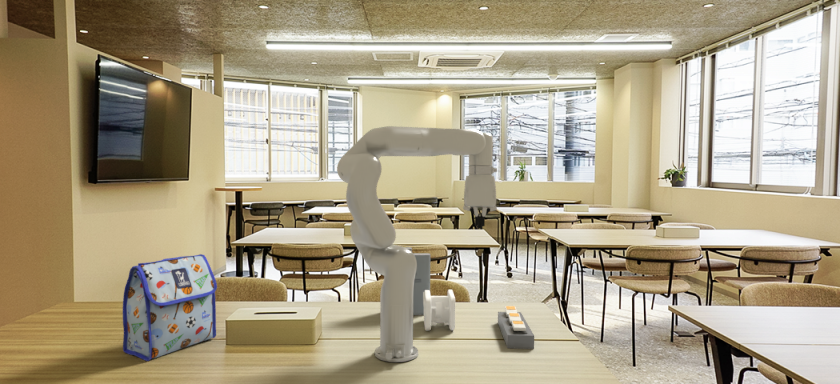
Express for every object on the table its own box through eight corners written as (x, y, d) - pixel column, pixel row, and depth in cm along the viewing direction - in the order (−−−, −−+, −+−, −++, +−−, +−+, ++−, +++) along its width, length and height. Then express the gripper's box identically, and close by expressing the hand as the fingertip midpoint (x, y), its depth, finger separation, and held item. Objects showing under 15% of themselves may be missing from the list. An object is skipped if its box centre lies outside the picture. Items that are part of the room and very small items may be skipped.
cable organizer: (455, 333, 160) (456, 299, 159) (423, 333, 160) (423, 298, 159) (452, 320, 175) (452, 288, 174) (422, 320, 175) (423, 288, 174)
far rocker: (517, 316, 165) (517, 314, 164) (506, 316, 165) (506, 313, 164) (515, 308, 169) (515, 306, 169) (505, 308, 170) (505, 305, 169)
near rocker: (525, 330, 149) (525, 327, 148) (513, 330, 149) (514, 327, 149) (523, 324, 153) (523, 321, 153) (511, 324, 154) (511, 320, 153)
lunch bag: (151, 365, 132) (150, 267, 131) (117, 353, 140) (116, 261, 139) (222, 340, 152) (222, 255, 151) (189, 331, 160) (188, 250, 159)
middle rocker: (521, 323, 157) (521, 320, 156) (510, 323, 157) (510, 320, 156) (519, 316, 161) (519, 313, 161) (508, 315, 162) (508, 312, 161)
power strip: (534, 348, 147) (534, 333, 146) (507, 348, 147) (507, 333, 147) (516, 315, 181) (516, 303, 180) (494, 315, 181) (495, 303, 181)
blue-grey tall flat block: (383, 314, 181) (383, 248, 180) (384, 311, 185) (384, 246, 184) (429, 315, 180) (430, 248, 179) (429, 311, 185) (430, 246, 184)
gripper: (502, 171, 159) (501, 227, 160) (456, 171, 160) (456, 227, 161) (505, 171, 152) (504, 230, 152) (457, 171, 152) (456, 229, 153)
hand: (479, 228), depth 156 cm, fingers closed
